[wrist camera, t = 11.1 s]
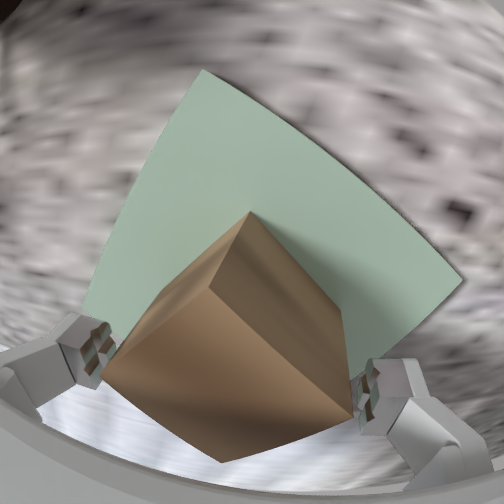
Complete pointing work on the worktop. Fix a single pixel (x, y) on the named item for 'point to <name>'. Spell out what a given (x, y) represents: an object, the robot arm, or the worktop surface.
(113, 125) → the worktop surface
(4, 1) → the coffee mug
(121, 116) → the worktop surface
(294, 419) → the walnut cube
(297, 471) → the worktop surface
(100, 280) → the plate
